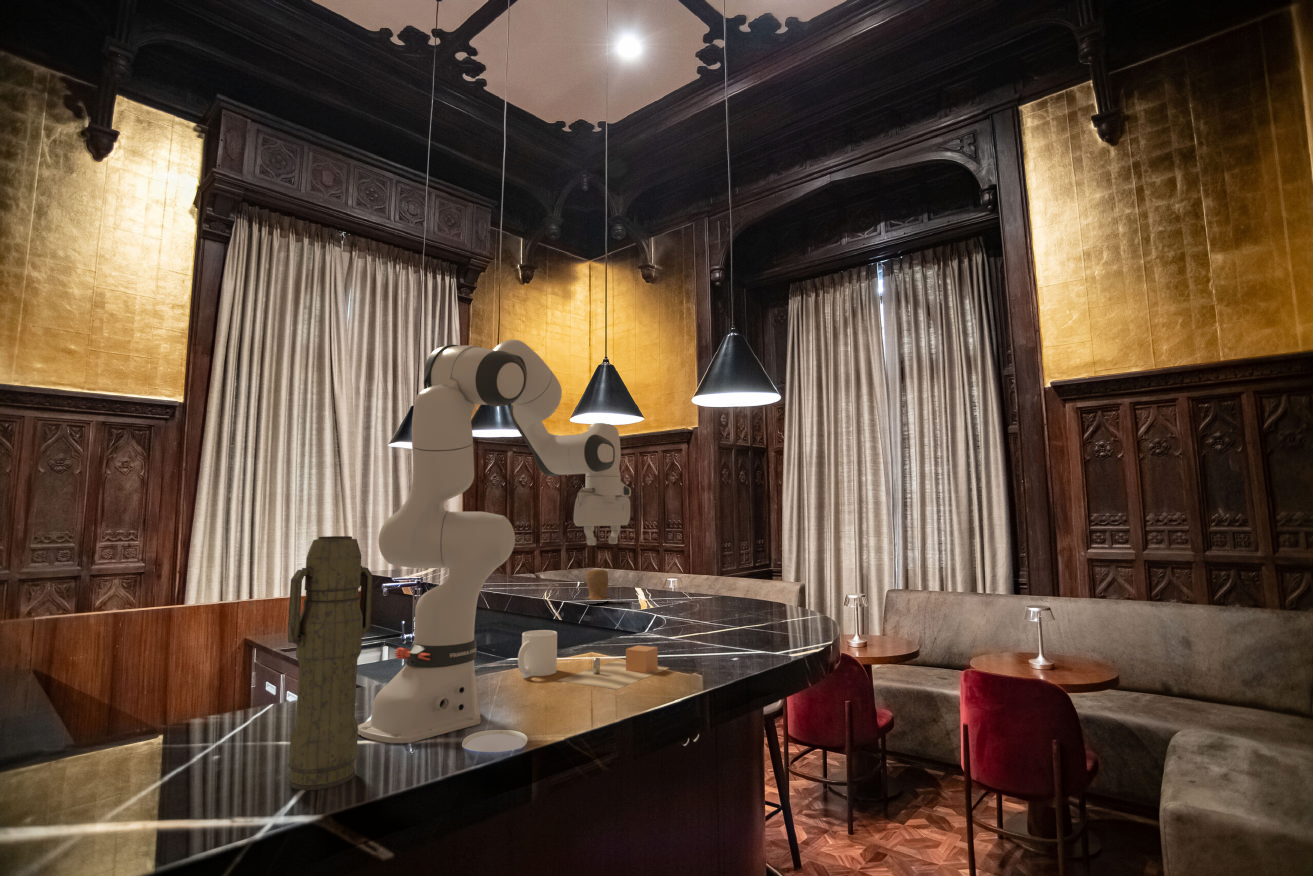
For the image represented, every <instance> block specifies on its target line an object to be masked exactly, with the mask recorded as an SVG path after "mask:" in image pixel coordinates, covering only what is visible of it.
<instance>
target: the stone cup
mask: <svg viewBox="0 0 1313 876" xmlns="http://www.w3.org/2000/svg"><path fill="white" fill-rule="evenodd" d="M585 582H586V584H587V589H588V597H585V598H584V599H590V600H601V599H607V598H611V597H610V596H608V595H607V590H608V585H609V574H608V571H607V570H606V569H598V568H597V569H590V570H587V571H586V572H585Z"/></svg>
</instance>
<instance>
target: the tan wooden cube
mask: <svg viewBox="0 0 1313 876" xmlns="http://www.w3.org/2000/svg"><path fill="white" fill-rule="evenodd" d="M658 649H659V647H657V646H656V647H655V646H647V645H639V644H637V645H634V646H631V647H628V648H625V662H626V671H633V672H641V673H648V672H650V671H653V670H655V669H658V664H659V663H658V661H659V660H658V659H659V658H658V656H659V655H658V651H659V650H658Z"/></svg>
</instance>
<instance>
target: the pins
mask: <svg viewBox="0 0 1313 876" xmlns="http://www.w3.org/2000/svg"><path fill="white" fill-rule="evenodd" d="M592 662H593V663H592V669H593V674H600V666H601V657H593V661H592Z"/></svg>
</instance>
